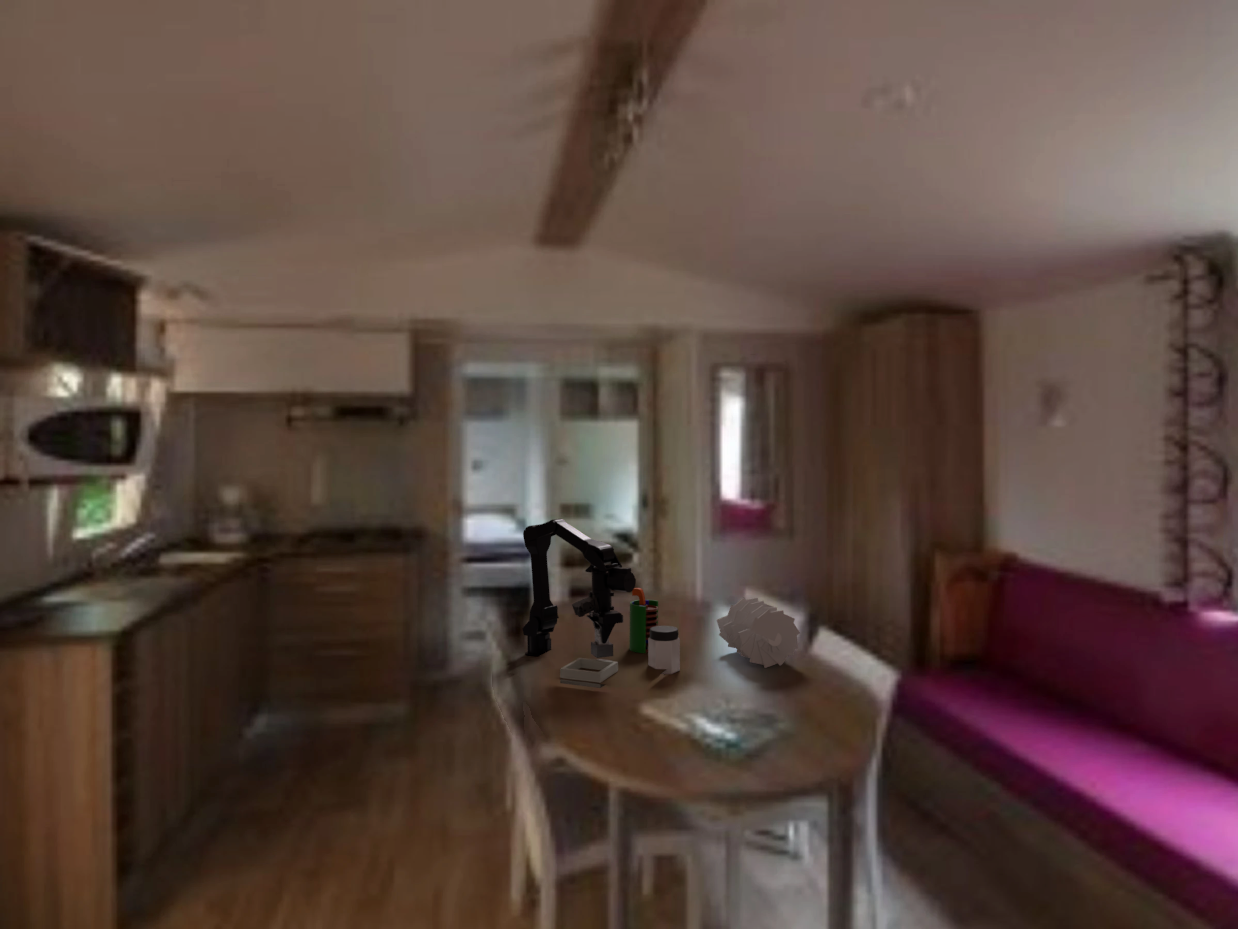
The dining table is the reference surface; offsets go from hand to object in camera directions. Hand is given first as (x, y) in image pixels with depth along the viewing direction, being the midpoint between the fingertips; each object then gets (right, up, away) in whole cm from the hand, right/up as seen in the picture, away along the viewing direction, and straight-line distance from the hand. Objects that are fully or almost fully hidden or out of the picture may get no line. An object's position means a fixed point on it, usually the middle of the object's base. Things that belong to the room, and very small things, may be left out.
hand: (601, 642), depth 251 cm
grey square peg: (0, -4, 0) cm, 4 cm away
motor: (+13, -7, +15) cm, 20 cm away
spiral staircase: (+46, -7, +7) cm, 47 cm away
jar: (+18, -8, -4) cm, 20 cm away
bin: (-3, -8, -12) cm, 15 cm away
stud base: (0, -7, 0) cm, 7 cm away
